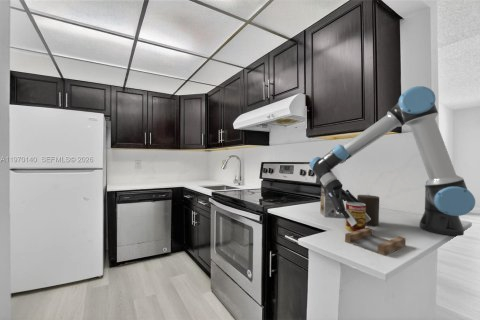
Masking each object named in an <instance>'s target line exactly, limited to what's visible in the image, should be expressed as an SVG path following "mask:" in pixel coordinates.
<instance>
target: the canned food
mask: <svg viewBox="0 0 480 320" xmlns="http://www.w3.org/2000/svg"><path fill="white" fill-rule="evenodd" d="M345 209H346V210H348V211H349V213H350V214H351V215H352V217H353V218H354V219H355V221H356V222H357V224H355V225H354V226H351V225H350V223H349V222H348V221H347V219H346V218H345V231H348V232H349V233H350V232H354V231H357V230H361V229H364V228H366V225H365V213H366V205H365V204H363V203H358V202H347V201H345ZM346 210H345V211H346Z"/></svg>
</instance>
